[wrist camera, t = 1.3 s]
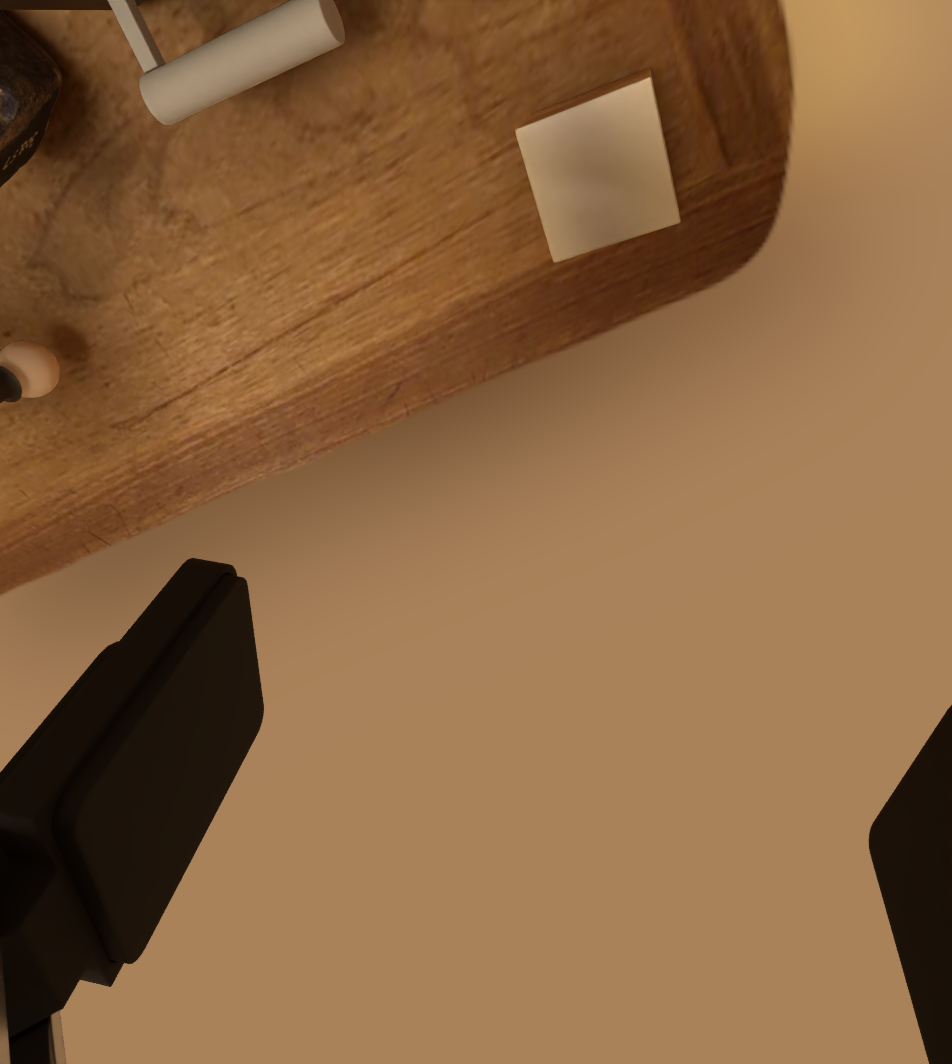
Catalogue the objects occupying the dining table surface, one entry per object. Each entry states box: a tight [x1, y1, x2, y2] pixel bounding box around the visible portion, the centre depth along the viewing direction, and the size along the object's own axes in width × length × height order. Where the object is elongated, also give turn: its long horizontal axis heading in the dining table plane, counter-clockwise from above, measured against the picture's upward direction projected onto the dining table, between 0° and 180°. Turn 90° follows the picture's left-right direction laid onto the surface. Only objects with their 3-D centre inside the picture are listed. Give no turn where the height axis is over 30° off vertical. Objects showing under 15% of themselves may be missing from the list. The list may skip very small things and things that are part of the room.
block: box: [515, 68, 680, 263], centre depth 27 cm, size 5×5×5 cm
